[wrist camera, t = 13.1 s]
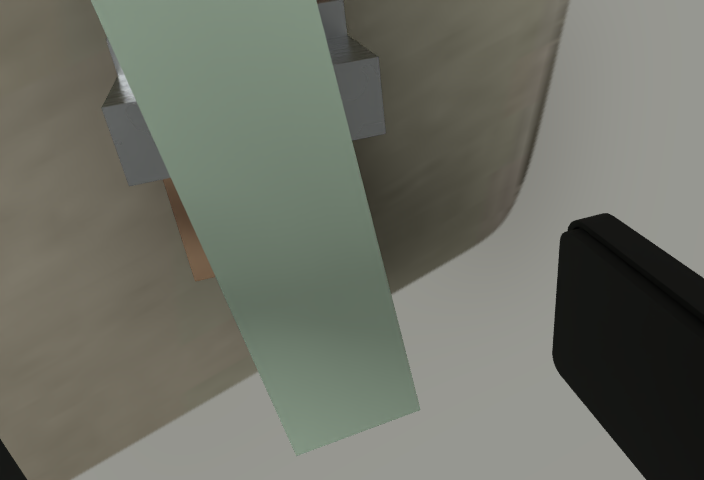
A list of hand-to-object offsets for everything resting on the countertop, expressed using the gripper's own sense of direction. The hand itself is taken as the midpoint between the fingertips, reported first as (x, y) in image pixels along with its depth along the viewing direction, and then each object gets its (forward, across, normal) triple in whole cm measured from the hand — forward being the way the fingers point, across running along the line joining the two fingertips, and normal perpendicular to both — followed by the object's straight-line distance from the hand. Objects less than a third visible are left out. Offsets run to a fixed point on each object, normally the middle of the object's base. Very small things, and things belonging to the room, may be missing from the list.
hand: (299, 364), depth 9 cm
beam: (+14, 0, 0) cm, 14 cm away
